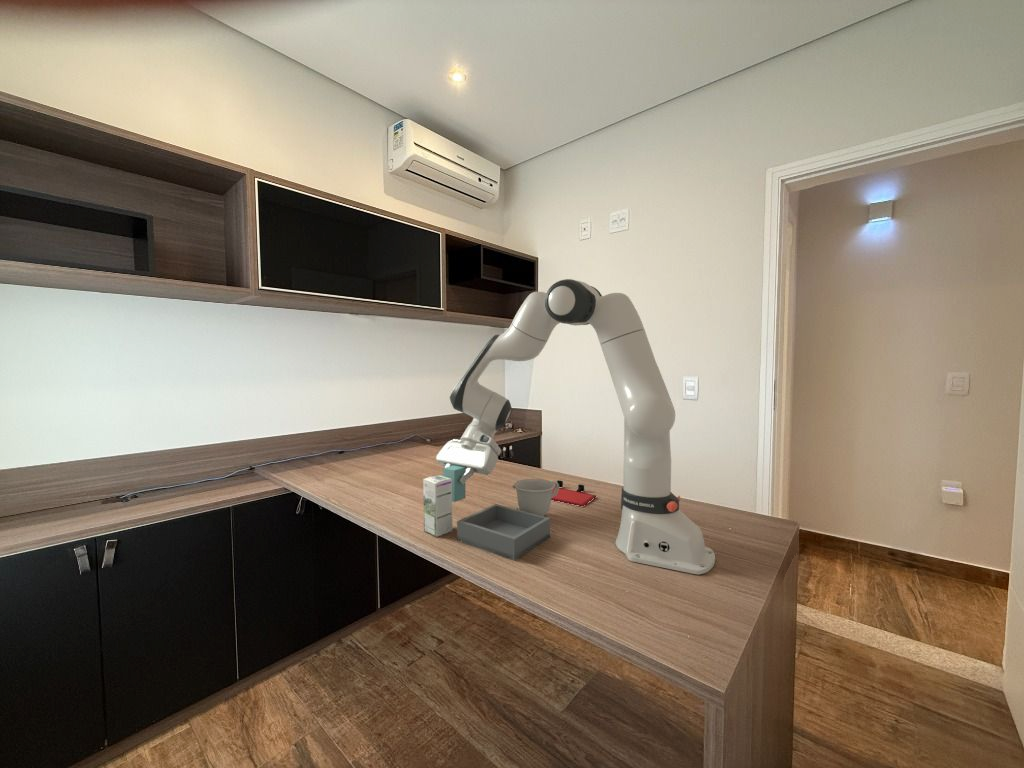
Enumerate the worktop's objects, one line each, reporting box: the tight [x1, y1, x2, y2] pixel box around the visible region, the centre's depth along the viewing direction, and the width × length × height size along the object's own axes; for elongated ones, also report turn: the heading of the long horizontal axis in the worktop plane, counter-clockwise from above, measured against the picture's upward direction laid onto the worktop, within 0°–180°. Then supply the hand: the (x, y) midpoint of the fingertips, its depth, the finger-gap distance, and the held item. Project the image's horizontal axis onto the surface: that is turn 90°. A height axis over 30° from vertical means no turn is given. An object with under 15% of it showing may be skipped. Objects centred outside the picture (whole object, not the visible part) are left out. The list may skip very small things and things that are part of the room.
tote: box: [456, 503, 551, 561], centre depth 104 cm, size 18×16×5 cm
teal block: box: [442, 465, 466, 503], centre depth 116 cm, size 4×4×9 cm
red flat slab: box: [512, 479, 597, 507], centre depth 142 cm, size 30×3×15 cm
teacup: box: [513, 478, 559, 517], centre depth 119 cm, size 12×15×10 cm
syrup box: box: [422, 474, 453, 538], centre depth 108 cm, size 6×6×14 cm
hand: (452, 481), depth 115 cm, fingers closed on teal block, 4 cm apart
